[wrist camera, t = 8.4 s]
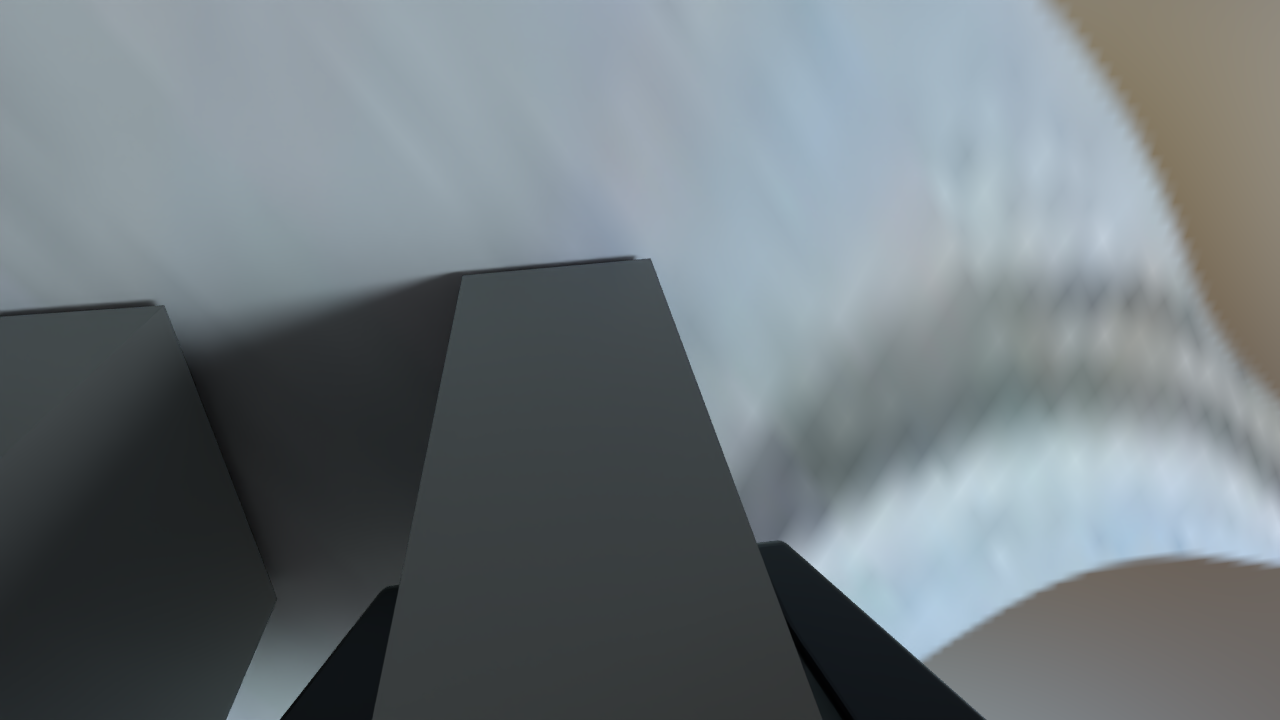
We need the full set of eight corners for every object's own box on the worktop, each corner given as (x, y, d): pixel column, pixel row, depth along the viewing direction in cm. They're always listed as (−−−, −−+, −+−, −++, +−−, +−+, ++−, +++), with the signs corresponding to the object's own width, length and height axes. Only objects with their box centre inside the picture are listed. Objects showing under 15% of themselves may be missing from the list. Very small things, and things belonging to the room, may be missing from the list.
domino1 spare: (650, 258, 10) (1141, 1572, 2) (662, 546, 12) (895, 1629, 4) (462, 276, 9) (147, 1829, 2) (513, 565, 12) (479, 1736, 4)
